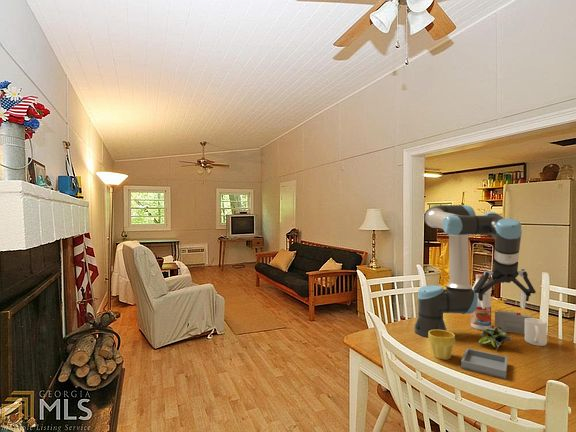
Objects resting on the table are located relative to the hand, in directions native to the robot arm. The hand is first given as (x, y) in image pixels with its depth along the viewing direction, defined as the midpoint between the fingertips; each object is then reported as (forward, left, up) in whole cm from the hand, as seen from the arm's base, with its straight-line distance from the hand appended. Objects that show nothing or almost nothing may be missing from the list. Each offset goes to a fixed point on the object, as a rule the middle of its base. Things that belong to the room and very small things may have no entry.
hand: (502, 307), depth 128 cm
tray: (-6, -3, -24) cm, 25 cm away
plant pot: (-21, -3, -24) cm, 32 cm away
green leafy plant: (-3, +21, -24) cm, 32 cm away
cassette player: (+3, +49, -24) cm, 55 cm away
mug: (+12, +36, -24) cm, 45 cm away
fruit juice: (-11, +46, -24) cm, 53 cm away
